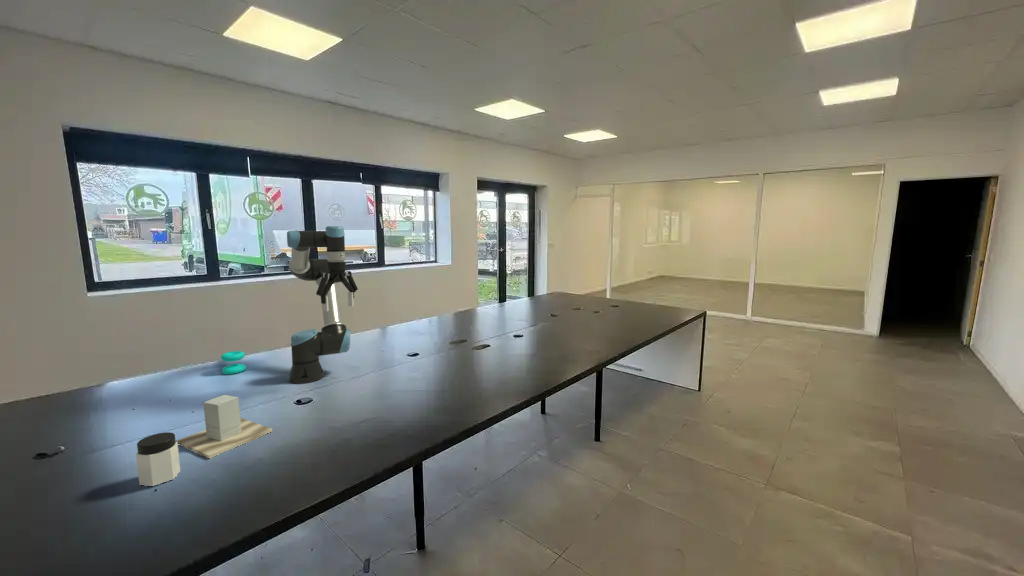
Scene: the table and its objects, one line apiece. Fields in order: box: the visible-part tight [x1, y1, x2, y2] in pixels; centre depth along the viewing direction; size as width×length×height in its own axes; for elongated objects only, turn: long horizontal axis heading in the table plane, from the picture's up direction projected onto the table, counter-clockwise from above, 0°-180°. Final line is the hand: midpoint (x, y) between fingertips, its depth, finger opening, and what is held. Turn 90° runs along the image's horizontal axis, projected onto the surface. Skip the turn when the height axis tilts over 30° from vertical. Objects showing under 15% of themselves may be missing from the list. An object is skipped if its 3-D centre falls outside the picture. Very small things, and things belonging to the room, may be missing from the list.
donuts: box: [220, 350, 247, 375], centre depth 206 cm, size 10×10×10 cm
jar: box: [135, 431, 181, 486], centre depth 115 cm, size 9×8×12 cm
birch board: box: [176, 417, 273, 459], centre depth 139 cm, size 20×20×1 cm
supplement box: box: [202, 394, 241, 441], centre depth 138 cm, size 7×7×13 cm
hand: (338, 308), depth 182 cm, fingers open, 13 cm apart
